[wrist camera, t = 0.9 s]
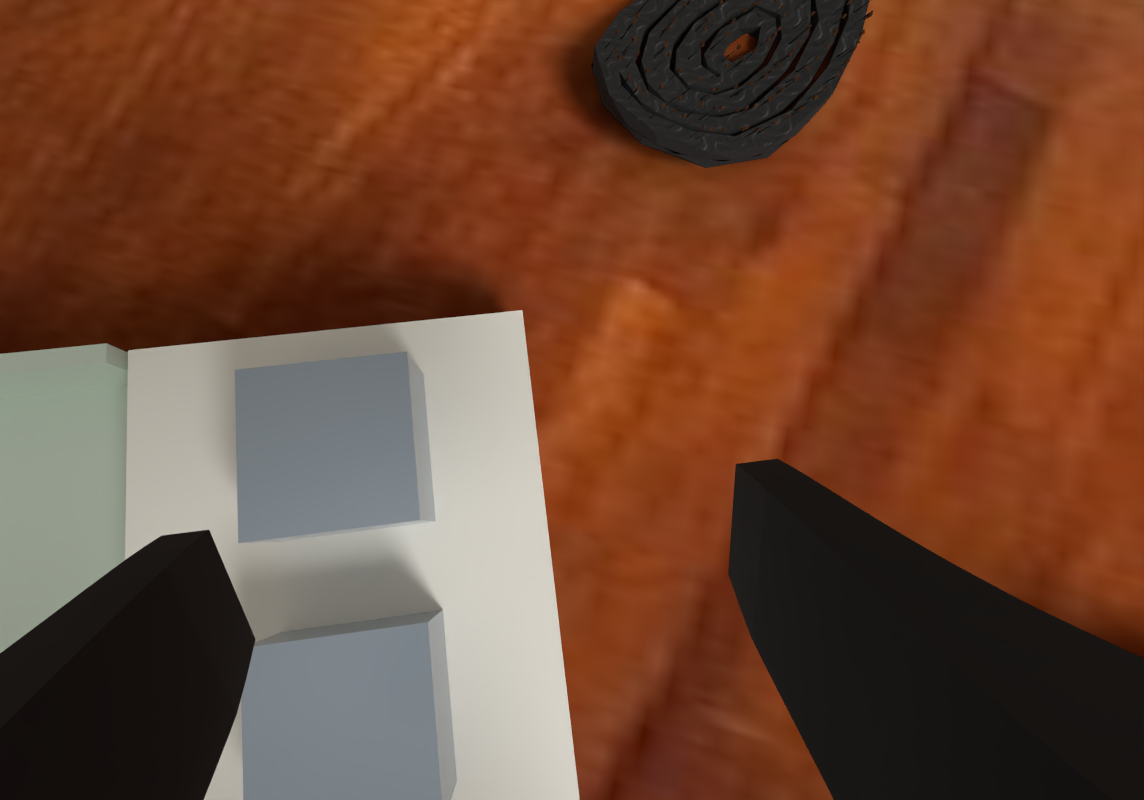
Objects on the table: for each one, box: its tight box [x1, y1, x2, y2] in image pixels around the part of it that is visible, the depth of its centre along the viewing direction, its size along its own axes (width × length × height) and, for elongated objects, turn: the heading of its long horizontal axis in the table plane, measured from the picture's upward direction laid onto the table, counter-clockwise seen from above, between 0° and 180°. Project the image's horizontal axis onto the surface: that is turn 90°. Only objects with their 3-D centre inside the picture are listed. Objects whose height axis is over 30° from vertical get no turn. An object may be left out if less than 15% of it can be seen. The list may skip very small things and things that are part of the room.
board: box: [125, 310, 579, 800], centre depth 19 cm, size 16×12×2 cm
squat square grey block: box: [241, 610, 457, 800], centre depth 16 cm, size 4×4×2 cm
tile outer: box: [235, 352, 436, 543], centre depth 17 cm, size 4×4×2 cm
